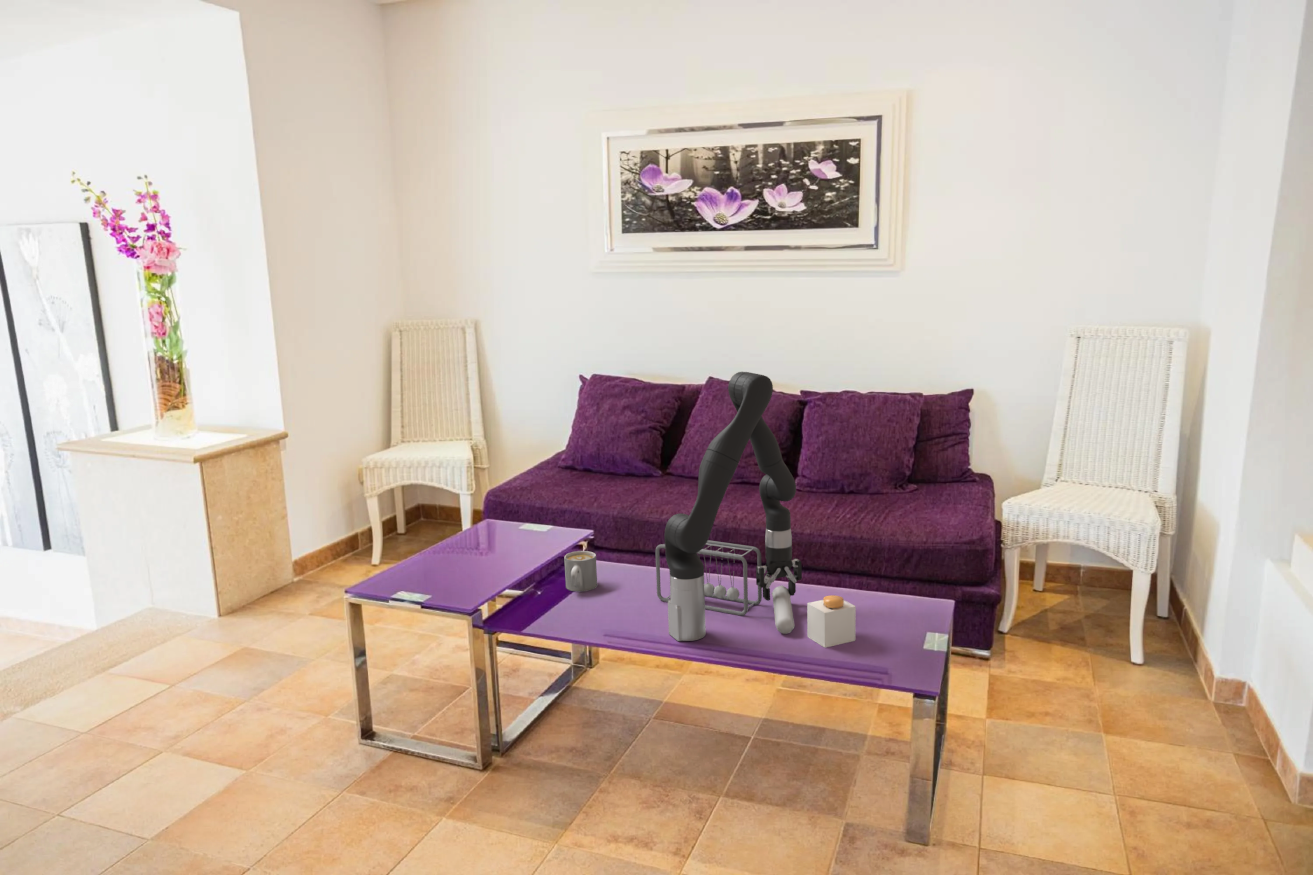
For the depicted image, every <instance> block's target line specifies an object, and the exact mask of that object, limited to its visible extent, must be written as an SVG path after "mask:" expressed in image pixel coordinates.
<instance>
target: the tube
mask: <svg viewBox="0 0 1313 875" xmlns="http://www.w3.org/2000/svg"><path fill="white" fill-rule="evenodd" d="M771 595H772V603H773V604H772V605H773V612H774V623H775V627H776V629H777V631H778V632H779V633H781V634H782V635H786V634H787V635H788V634H791V633H792V632H793V630H794V628H795V620H794V613H793V607H792V600H791V595H789V590H788V587H786V586H784V585H782V584H781V585H778V586H776V587H774V589H773V590H772V592H771Z"/></svg>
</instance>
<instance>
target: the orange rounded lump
mask: <svg viewBox="0 0 1313 875" xmlns="http://www.w3.org/2000/svg"><path fill="white" fill-rule="evenodd" d="M822 600H823V604H824V606H826V607H828V608H829V609H831V610H833V609H838V608H840V607H842V606H843V605H844V597H842V596H840V595H836V594H835V595H831V594H830V595H826V596H824V597H823V599H822Z"/></svg>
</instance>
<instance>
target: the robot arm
mask: <svg viewBox="0 0 1313 875" xmlns="http://www.w3.org/2000/svg"><path fill="white" fill-rule="evenodd" d="M727 388H728V395H729V397H730V400H731V402H732V404H733V406H734V409H735V410H736V414H735V416H734V418H733V419H732V420H731V422H730V423H729V424H728V425H726V427H725V428H723V429H722V430H721V431H720V432H719V433H718V434H717V435H716V436H715V437H714V438H713V439H712V440H711V442H710V443H709V445H708V446H707V449H706V451H705V452H704V455H703V457H702V460H701V462H700V465H699V469H698V482H697V483H698V486H697V487H698V488H697V495H696V500H695V502H694V505H693V507H692V509H691V511H690V513H689V515H688V514H686V513H683V512H682V513H676V514H673V515H671V517H670V518H669V519H668V520H667V521H666V524H665V529H664V544H665V548H664V550H665V551H664V552H665V561H666V564H667V566H668V569H669V586H670V587H669V588H670V590H669V591H670V592H669V595H670V597H669V598H670V599H671V600H669V601H668V602H667V618H668V619H667V621H668V635H670V636H671V637H672V638H673V639H674V640H676V641H677V642H689V641H690V642H692V641H698V640H701V639H703V638H705V637H706V632H707V631H706V627H707V626H706V609H705V605H706V598H705V597H706V596H705V592H704V585H705V564H704V563H703V561H702V560H701V559H700V556H699V554H698V553H697V552H699V551H700V550H701V549H704V547H705V546H706V545H705V544H706V543H707V541H708V540H709V538H710V536H711V533H712V530H713V526H714V523H715V520H716V518H717V514H718V511H719V509H720V506H721V503H722V501H723V499H724V497H725V494H726V492H727V490H728V487H729V484H730V483H731V481H732V478H733V477H734V475H735V472H736V471H737V468H738V465H739V464H740V461H741V458H742V455H743V453H744V452H745V449H746V447H747V445H748V443H749V441H750V444H751V446H752V450H753V452H754V455H755V459H756V462H757V465H758V469H759V470H760V472H761V473H763V474H765V475H764V476H762V478H761V480H760V483H759V486H758V489H759V497H760V501H761V503H762V507H763V510H764V513H765V537H764V541H765V542H764V543H765V544H764V545H765V560H766V561H765V562H766V563H765V565H761V566H759V565H758V566H757V565H756V567H755V572H756V574H755V576H756V578H755V580H756V581H755V583H756V584H755V585H756V586H757V587H758V586H759V587H761V588H762V598H763V599H764V600H765V601H769V602H770V601H771V588H770V587H771V585H772V584H773V583H774V582H775V580H776V579H779V578H786V579H787V580H788V583H787V585H788V586H787V588H788V590H789V595H791V596H792V597H793V596H795V594H796V592H797V590H796V589H797V587H796V586H797V585H796V583H797V582H798V581H801V580H803V575H802V573H803V572H802V561H801V560H800V559H798V558H794V559H793V550H792V549H793V548H792V547H793V546H792V544H793V543H792V542H793V541H792V540H793V537H792V535H793V534H792V530H791V518H792V517H791V511H790V510H789V508H787V507H785V506H784V505H782V503H781V502H789V501H791V500H792V499H794V497H795V495H796V493H797V485H796V481H795V478H794V477H793V475H792V472H790V469H789V468H788V466H787V465H786V464H785V462H784V460H783V456H782V453H781V448H780V446H779V443H778V441H777V439H776V438H777V437H776V436H775V434H774V433H773V431H772V430H771V428H770V427H769V425H768V424H767V423H766V421H765V420H764V418H763V414H764V412H765V411H766V409H767V407H768V406H769V404H770V401H771V398H772V396H773V391H774V385H773V382H772V380H771V378H770V377H768V376H767V375H764V374H759V373H753V372H750V371H738V372H736V373H734V374H733V375H732V377H731V378H730V379H729V381H728V386H727ZM791 568H793V573H792V571H791ZM766 571H767V572H766ZM791 596H790V597H791Z"/></svg>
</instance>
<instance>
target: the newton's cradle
mask: <svg viewBox="0 0 1313 875" xmlns="http://www.w3.org/2000/svg"><path fill="white" fill-rule="evenodd" d="M705 546H707V547H706V549H705V548H702V549H701V550H700V551H699V552H697V555H698V556H700V555H703V559H704V561H706V557H705V556H710V557H709V558H710V559H709V564H711V563H712V562H711V560H712V556H713V557H720V558H721V559H723V558H725V559H733V562H735V560H739V561H741V562H742V566H743V568H742V569H743V570H742V574H743V576H742V577H743V579H742V580H743V598H739V597H740V591H739V589H738V588H736V587H735V586H734V585H735V584H734V582H735V581H734V580H735V578H734V577H735V572H733V575H732V576H731V574H729V577H730V580H732V581H730V584H731V586H730V587H729V588H728V589H726V587H725V586H724V585H722V579H720V576H719V575H717V579H718V582H719V584H718V585H716V586H714V585H713V584H712V583H710V582H709V579H710V577H711V576H710V575H711V569H709V572H708V573H709V574H708V573H707V570H705V574H706V576H708V578H706V582H707V583H704V592H705V597H706V598H707V597H708V598H713V599H719V600H724V601H731V602H737V603H742V604H743V610H742V611H739V610H733V609H730V608H729V609H727V608H723V607H717V606H711V605H706V604H705V610H708V611H713V612H719V613H724V614H730V615H735V616H741V617H743V616H746V615H747V613H748V612H749V611H748V610H749V609H750V608H752V607H753V606H758V605H759V604H761V602H762V598H763V588H761V587H759V586H758V585H757V600H750V599H749V597H748V595H749V593H748V592H749V589H748V586H749V585H748V584H749V582H748V562H747V559H746V558H745V557H744V556H746V555H747V554H749V553H750V552H752V551H754V552H755V553H756V556H757V560H756V561H757V563H756V564H757V565H756V567H757V566H758V565H759V566H762V553H761V550H760V549H759V547H756V546H751V545H744V544H739V543H730V542H723V541H722V542H721V541H716V540H709V539H708V541H707V543H706V544H705ZM713 546H714V547H720V548H718V549H717V550H712V547H713ZM709 547H710V549H708V548H709ZM722 548H725V549H726V548H727V549H732V550H730V551H727V552H724V549H722ZM661 549H665V543H663V544H661V543H660V544H658V545H657V546H656V548H655V574H656V577H655V578H656V596H657V598H658V600H660V601H661V602H665V603H668V601H669V600H671V597H670V594H669V595H668V596H666V597H663V596H662V590H661V588H662V587H661V567H660V566H661V563H660V562H661V559H660V550H661ZM721 549H722V550H721ZM719 550H721V551H719ZM736 550H742V551H746V552H745V553H743V554H738V553H737V554H736ZM732 551H734V553H731V552H732ZM715 563H716V565H718V561H717V559H715ZM706 564H707V563H706V562H704V569H707V565H706ZM727 564H728V566H730V563H729V560H727ZM728 568H729V569H728V570H729V571H728V572H729V573H731V569H730V567H728ZM722 570H723V564H721V567H720V574H722V572H723V571H722ZM716 571H717V572H716V573H717V574H719V569H718V567H716Z"/></svg>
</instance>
